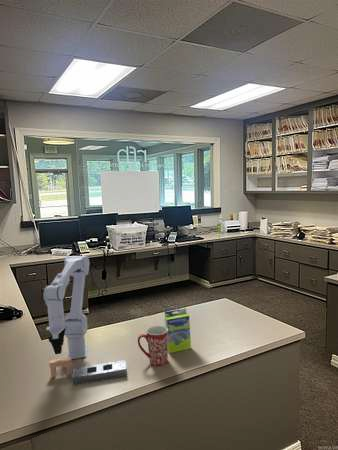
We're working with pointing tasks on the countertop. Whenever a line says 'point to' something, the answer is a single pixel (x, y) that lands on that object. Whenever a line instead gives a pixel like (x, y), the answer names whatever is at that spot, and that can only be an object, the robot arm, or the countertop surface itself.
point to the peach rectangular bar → (59, 363)
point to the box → (178, 330)
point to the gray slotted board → (99, 372)
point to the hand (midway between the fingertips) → (59, 349)
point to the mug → (156, 345)
